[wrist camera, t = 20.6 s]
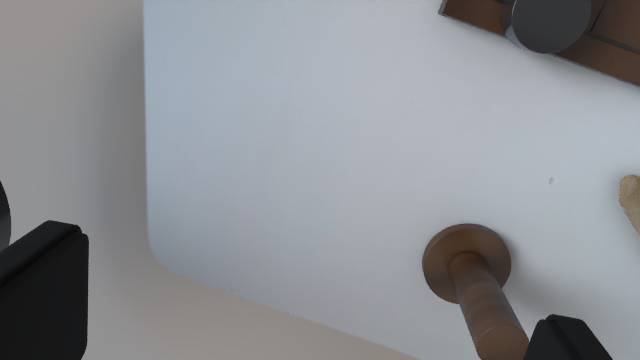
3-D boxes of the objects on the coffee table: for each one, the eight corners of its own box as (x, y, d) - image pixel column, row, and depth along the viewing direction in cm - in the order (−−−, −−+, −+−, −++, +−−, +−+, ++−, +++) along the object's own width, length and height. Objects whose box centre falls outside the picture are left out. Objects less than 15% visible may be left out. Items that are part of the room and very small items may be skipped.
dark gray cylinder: (487, 5, 32) (497, 4, 30) (554, -41, 31) (569, -45, 29) (521, 65, 33) (534, 68, 31) (587, 23, 32) (605, 23, 30)
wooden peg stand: (406, 250, 40) (424, 332, 30) (481, 207, 39) (527, 278, 28) (449, 311, 42) (480, 408, 32) (522, 272, 40) (581, 361, 30)
